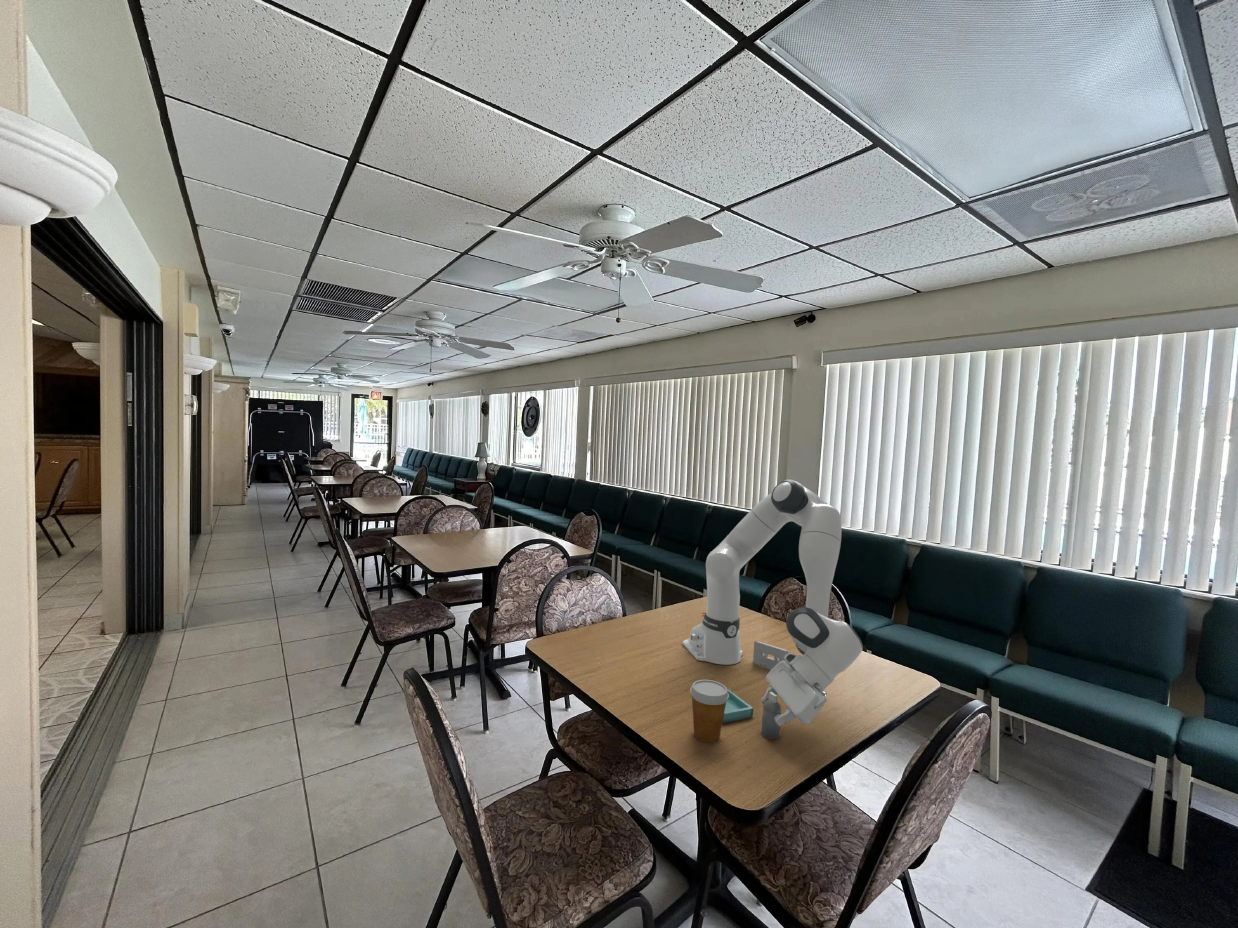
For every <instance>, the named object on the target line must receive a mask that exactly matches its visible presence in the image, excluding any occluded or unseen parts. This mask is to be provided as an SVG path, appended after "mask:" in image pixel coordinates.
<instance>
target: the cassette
mask: <svg viewBox="0 0 1238 928" xmlns="http://www.w3.org/2000/svg"><path fill="white" fill-rule="evenodd" d="M788 653H791V652H790V651H789V650H788V649H784V648H781V647H778V646H775V645H771V644H768V643H764V642H761V641H758V640H755V641H754V643H753V654H752V655H753V657H752V664H754V665H757V666H758V667H761V668H764V669H767V670H769V671H770V670H771V669H772V668H774V667H775V666H776V665H777V664H778V663H779V662H781V661H783V660H785V659H784V657H785V656H786V655H787V654H788ZM768 655H770V656H768ZM771 656H773V657H771ZM785 661H786V660H785Z"/></svg>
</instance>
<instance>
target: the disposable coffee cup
mask: <svg viewBox="0 0 1238 928" xmlns="http://www.w3.org/2000/svg"><path fill="white" fill-rule="evenodd" d="M727 689H728V687H726V686H725V685H724V684H723V683H721V682H719V681H715V680H713V679H712V680H710V679H700V680H696V681H694V682H693V683H692V685H691V687H690V689H689V693H690V697H691V704H692V723H693V734H694V737H695V738H697V739H698V740H699V741H702V742H705V743H714V742H717V741H719V740H720V737H721V732H722V727H723V726H722V725H723V723H722V722H723V716H724V711H725V706H726V701H727V700H728V698H729V694H728V692H727Z"/></svg>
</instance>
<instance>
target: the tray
mask: <svg viewBox="0 0 1238 928" xmlns="http://www.w3.org/2000/svg"><path fill="white" fill-rule="evenodd" d="M727 692H728V694H729V698H728V700H727V701H726V706H725V711H724V716H723V722H722V724H726V723H731V722H735V721H740V720H745V719H748V718H749V719H751V718H753V716H754V707H752V706H751V705H750V704H749V703H748V702H746V701H745V700H743V699H742V698H741V697H739V695H737V694H735V693H734V692H733V691H731V690H730V689H729V688H727Z"/></svg>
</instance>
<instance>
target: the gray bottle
mask: <svg viewBox="0 0 1238 928" xmlns="http://www.w3.org/2000/svg"><path fill="white" fill-rule="evenodd" d="M777 699H778V694H777V695H775V694H774V693H773V692H769V699H768V700H766V701H765V703H764V704H762V717H761V735H762V736H763V737H765V738H767V739H769V740H770V739H771V740H777V739H779V738H780V735H781V734H780V733H781V726H779V725H778V724H777V723H776V721H775V720H774V717H776V716H777V715H778V714H779V715H782V706H781V704H780V703H779V701H778V700H777Z"/></svg>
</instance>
